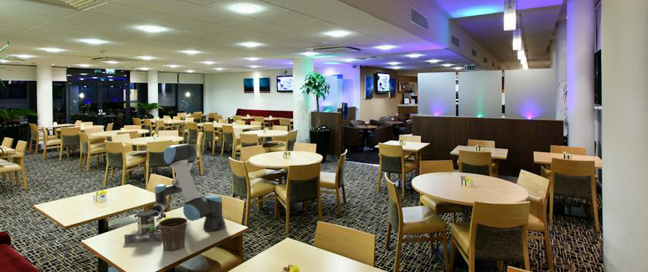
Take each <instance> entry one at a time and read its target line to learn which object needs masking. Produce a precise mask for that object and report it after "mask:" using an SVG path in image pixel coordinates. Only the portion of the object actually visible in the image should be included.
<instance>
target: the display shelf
mask: <svg viewBox="0 0 648 272" xmlns="http://www.w3.org/2000/svg"><path fill="white" fill-rule="evenodd" d="M123 238H124V239H123V240H124V244H132V243H134V244H135V243H137V244H140V243H157V242H160V243H161V242H163V241H162V234H161V232H160V231H158V229H155V233H141V234H138V229H137V230H132V231H131V232H130V233H125V234H124V235H123Z"/></svg>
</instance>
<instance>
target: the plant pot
mask: <svg viewBox="0 0 648 272" xmlns="http://www.w3.org/2000/svg"><path fill="white" fill-rule="evenodd" d="M158 222H159V221H158ZM187 222H188V219H187V218H186V217H181V216H179V217H170V218H166V219H165V218H164V219H163V220H161V221H160V222H159V223H158V226H159V229H160V230H161V234H162V241H161V242H162V247H163V250H165V251H170V252H171V251H174V250H175V251H177V250H180V249H182V248H183V247H184V246H185V241H186V240H185V239H186V228H187Z"/></svg>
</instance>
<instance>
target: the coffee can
mask: <svg viewBox="0 0 648 272" xmlns="http://www.w3.org/2000/svg"><path fill="white" fill-rule="evenodd" d="M136 214H137V222H136V223H137V230H138V234H141V233H155V230H156V223H155V222H156V220H155V219H156V218H155V216H154V211H150V210H143V211H140V212H137V213H136Z"/></svg>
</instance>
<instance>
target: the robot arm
mask: <svg viewBox="0 0 648 272" xmlns="http://www.w3.org/2000/svg"><path fill="white" fill-rule="evenodd" d="M197 157H198V151H197V148H196V146H194V145H192V144H191V143H181V144H175V145H174V144H173V145H169V146H167V147H166V148H165V149H164V152H163V159H164V160H163V161H164V162H165V163H166V164H169V165H170V167H171V168H173V169H174V172H175V177H174V180H173V183H172V184H169V185H166V184H163V183H160V184H157V185H155V186H154V195H155V204H154V205H153V206H152V207H151V208H150V210H149V211H154V218H155V217H156V218H155V219H156V220H155V222H156V223H158V222H159V221H160V220H162V219H163V218H164V219H165V218H166V219H167V214H166V212H165V210H167V208H168V206H169V201H168V198H167V197H169V196H172V195H177V194H180V193H182V194H183V196H184V199H185V201H184V206H183V208H182V212H183V215H184V218H185V219H187V221H191V222H194V221H198V220H201V219H203V218H204V221H203V225H202V227H203V228H202V230H204V231H206V232H217V231H221V230H224V229H225V228H226V221H225V219H224V216H223V198H222V196H220V195H215V194H210V195H208V194H207V195H205V196H204V199H203V197H202V196H200V195H199V193H198V191H197V188H196V185H195V182H194V179H193V177H192V174H191V171H190V170H191V168H192V166H193V164H195V163H196V160H197ZM133 217H134V224H136V223H138V222H137V213H136V214H134V216H133Z"/></svg>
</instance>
